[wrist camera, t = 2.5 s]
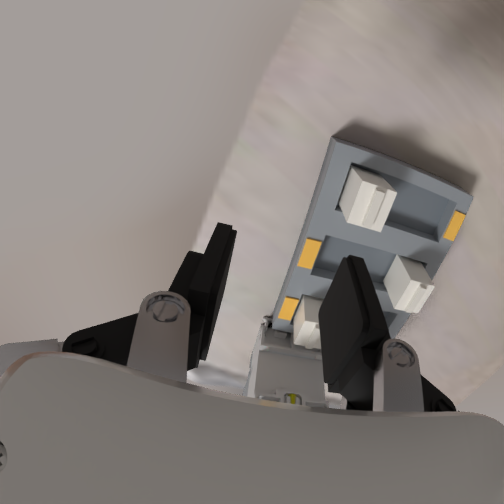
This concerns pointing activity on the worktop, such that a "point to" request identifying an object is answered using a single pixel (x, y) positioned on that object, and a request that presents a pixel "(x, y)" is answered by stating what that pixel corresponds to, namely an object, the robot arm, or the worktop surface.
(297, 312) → the tab
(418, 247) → the switch bank
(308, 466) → the robot arm
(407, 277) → the tab
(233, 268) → the worktop surface
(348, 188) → the tab
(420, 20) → the worktop surface
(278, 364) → the circuit breaker
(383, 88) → the worktop surface
